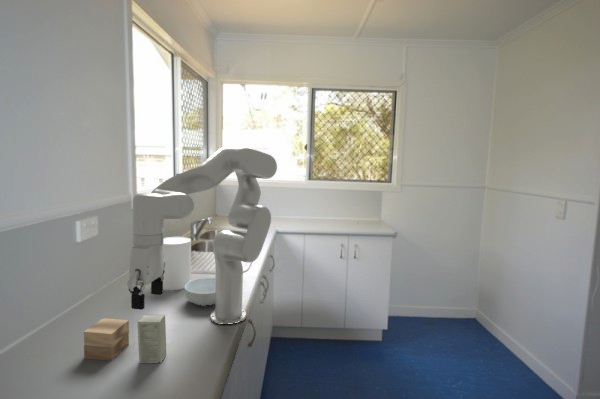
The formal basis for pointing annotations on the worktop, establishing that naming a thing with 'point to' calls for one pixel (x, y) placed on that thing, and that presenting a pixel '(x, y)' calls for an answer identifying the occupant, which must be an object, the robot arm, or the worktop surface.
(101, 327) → the oak top block
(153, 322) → the skincare box
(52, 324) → the worktop surface
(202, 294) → the cereal bowl
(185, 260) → the canister
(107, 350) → the walnut base block
